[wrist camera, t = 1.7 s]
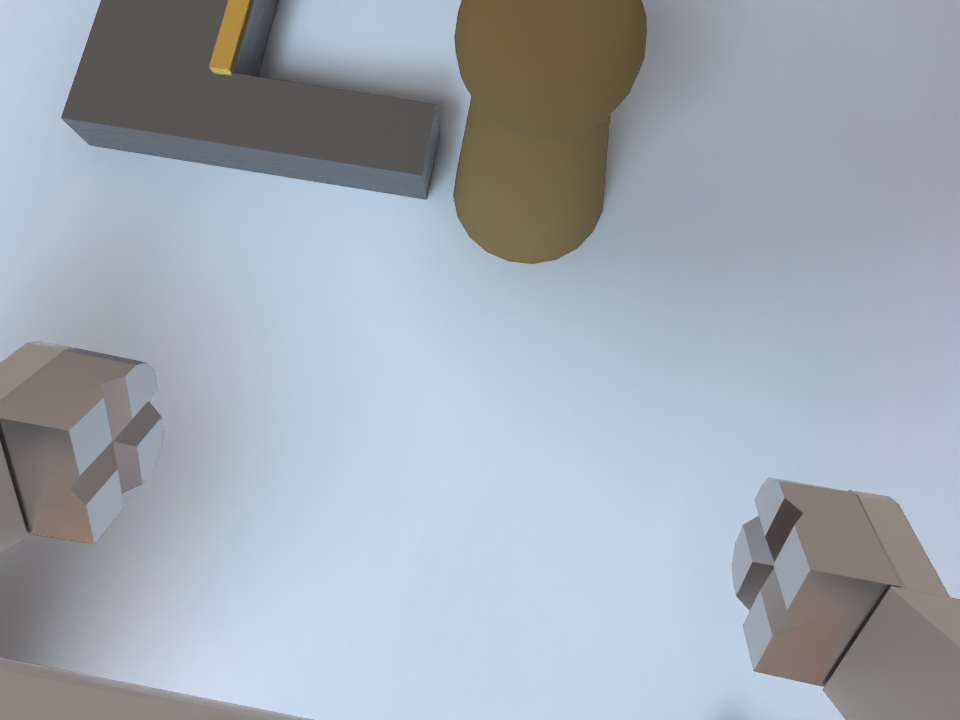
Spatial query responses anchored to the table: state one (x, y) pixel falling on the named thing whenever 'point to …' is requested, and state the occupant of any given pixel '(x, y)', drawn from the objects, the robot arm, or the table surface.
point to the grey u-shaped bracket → (237, 101)
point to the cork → (540, 118)
